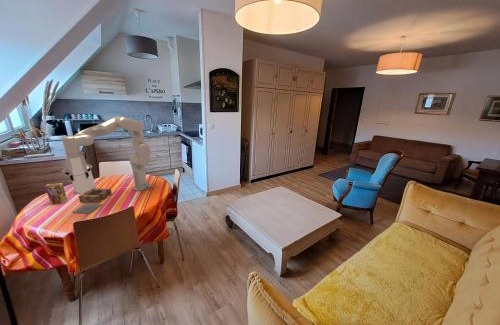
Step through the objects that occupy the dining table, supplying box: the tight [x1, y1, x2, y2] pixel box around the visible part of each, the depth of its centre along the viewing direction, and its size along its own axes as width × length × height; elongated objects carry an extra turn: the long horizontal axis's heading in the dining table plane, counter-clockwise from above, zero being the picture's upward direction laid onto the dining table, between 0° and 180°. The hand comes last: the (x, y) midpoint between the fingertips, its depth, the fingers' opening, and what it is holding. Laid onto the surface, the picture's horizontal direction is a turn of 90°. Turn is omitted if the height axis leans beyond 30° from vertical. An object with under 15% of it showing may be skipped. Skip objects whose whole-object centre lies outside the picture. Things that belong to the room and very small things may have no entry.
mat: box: [72, 202, 103, 215], centre depth 144 cm, size 12×12×1 cm
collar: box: [78, 187, 113, 204], centre depth 159 cm, size 15×15×5 cm
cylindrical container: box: [69, 157, 90, 194], centre depth 136 cm, size 7×7×25 cm
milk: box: [71, 166, 97, 195], centre depth 168 cm, size 12×12×26 cm
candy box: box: [44, 182, 68, 205], centre depth 149 cm, size 9×4×15 cm, turn 107°
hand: (80, 178), depth 137 cm, fingers closed on cylindrical container, 7 cm apart
